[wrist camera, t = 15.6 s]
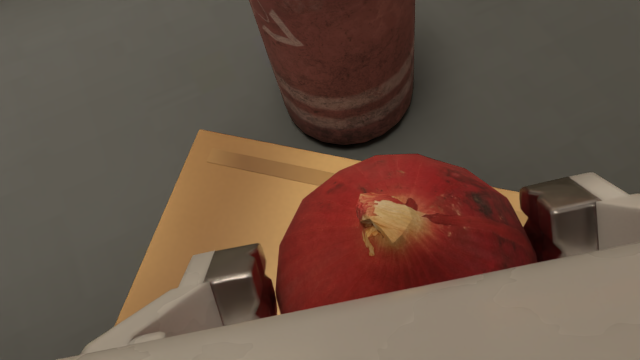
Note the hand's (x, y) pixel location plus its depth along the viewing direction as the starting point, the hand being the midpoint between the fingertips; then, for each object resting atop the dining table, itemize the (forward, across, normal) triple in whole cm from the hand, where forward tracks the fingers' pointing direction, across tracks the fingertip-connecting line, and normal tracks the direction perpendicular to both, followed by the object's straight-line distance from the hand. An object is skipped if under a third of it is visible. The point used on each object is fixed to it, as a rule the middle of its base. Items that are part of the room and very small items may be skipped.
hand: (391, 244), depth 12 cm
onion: (+3, 0, +4) cm, 5 cm away
